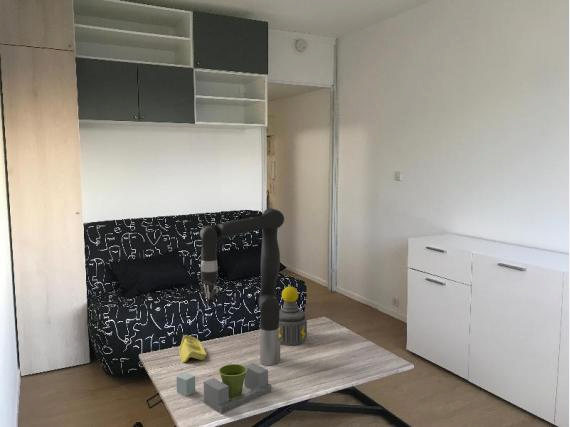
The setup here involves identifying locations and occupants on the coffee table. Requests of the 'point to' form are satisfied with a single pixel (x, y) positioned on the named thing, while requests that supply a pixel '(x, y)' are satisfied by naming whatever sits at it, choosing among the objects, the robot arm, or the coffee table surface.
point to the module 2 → (215, 393)
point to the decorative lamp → (291, 319)
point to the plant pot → (233, 378)
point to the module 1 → (185, 384)
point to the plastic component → (191, 349)
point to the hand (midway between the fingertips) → (210, 306)
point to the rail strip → (244, 398)
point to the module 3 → (255, 376)
